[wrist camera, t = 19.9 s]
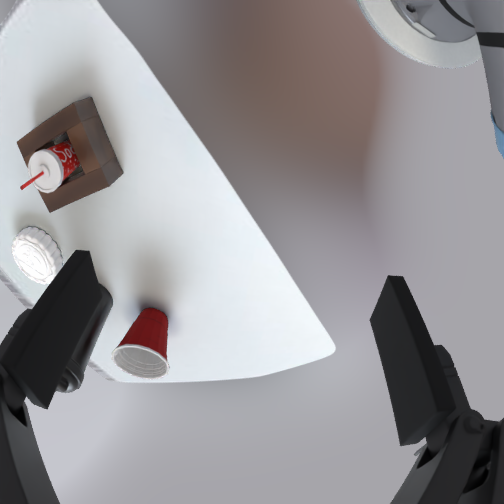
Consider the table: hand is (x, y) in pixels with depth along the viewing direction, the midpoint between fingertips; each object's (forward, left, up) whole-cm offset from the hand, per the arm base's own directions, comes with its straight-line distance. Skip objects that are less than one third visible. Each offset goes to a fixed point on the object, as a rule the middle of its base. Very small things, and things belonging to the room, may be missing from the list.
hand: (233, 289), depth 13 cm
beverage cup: (+3, -28, -32) cm, 42 cm away
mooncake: (+23, -42, -32) cm, 57 cm away
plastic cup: (+37, -18, -32) cm, 52 cm away
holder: (+3, -28, -32) cm, 42 cm away
